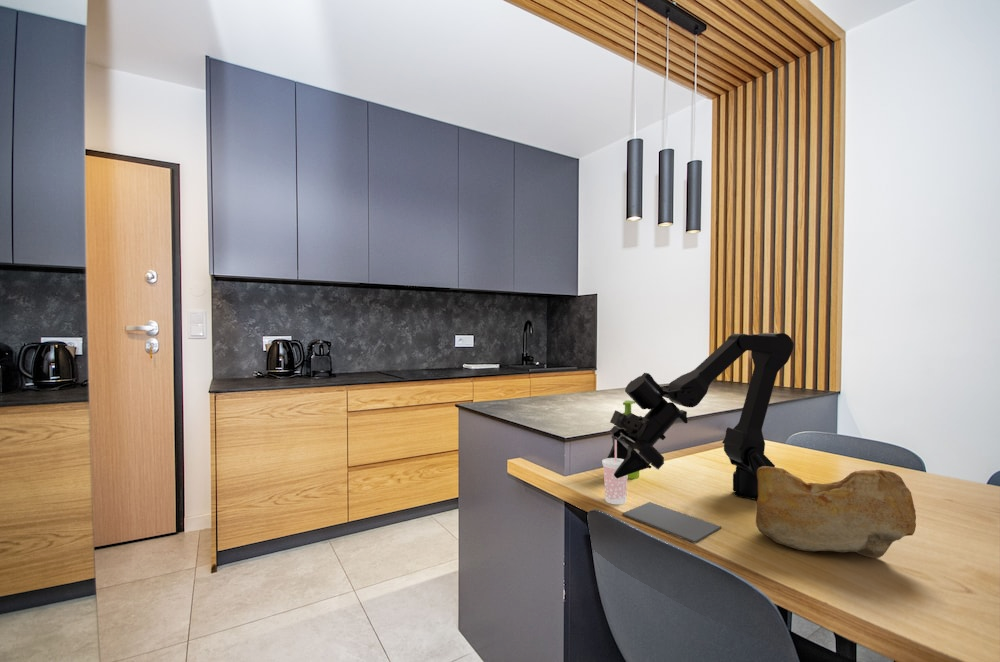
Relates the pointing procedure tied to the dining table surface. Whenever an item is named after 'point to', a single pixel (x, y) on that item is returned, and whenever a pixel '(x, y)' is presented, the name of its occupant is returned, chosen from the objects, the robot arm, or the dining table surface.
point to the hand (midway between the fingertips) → (609, 472)
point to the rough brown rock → (835, 511)
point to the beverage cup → (614, 480)
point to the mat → (672, 522)
